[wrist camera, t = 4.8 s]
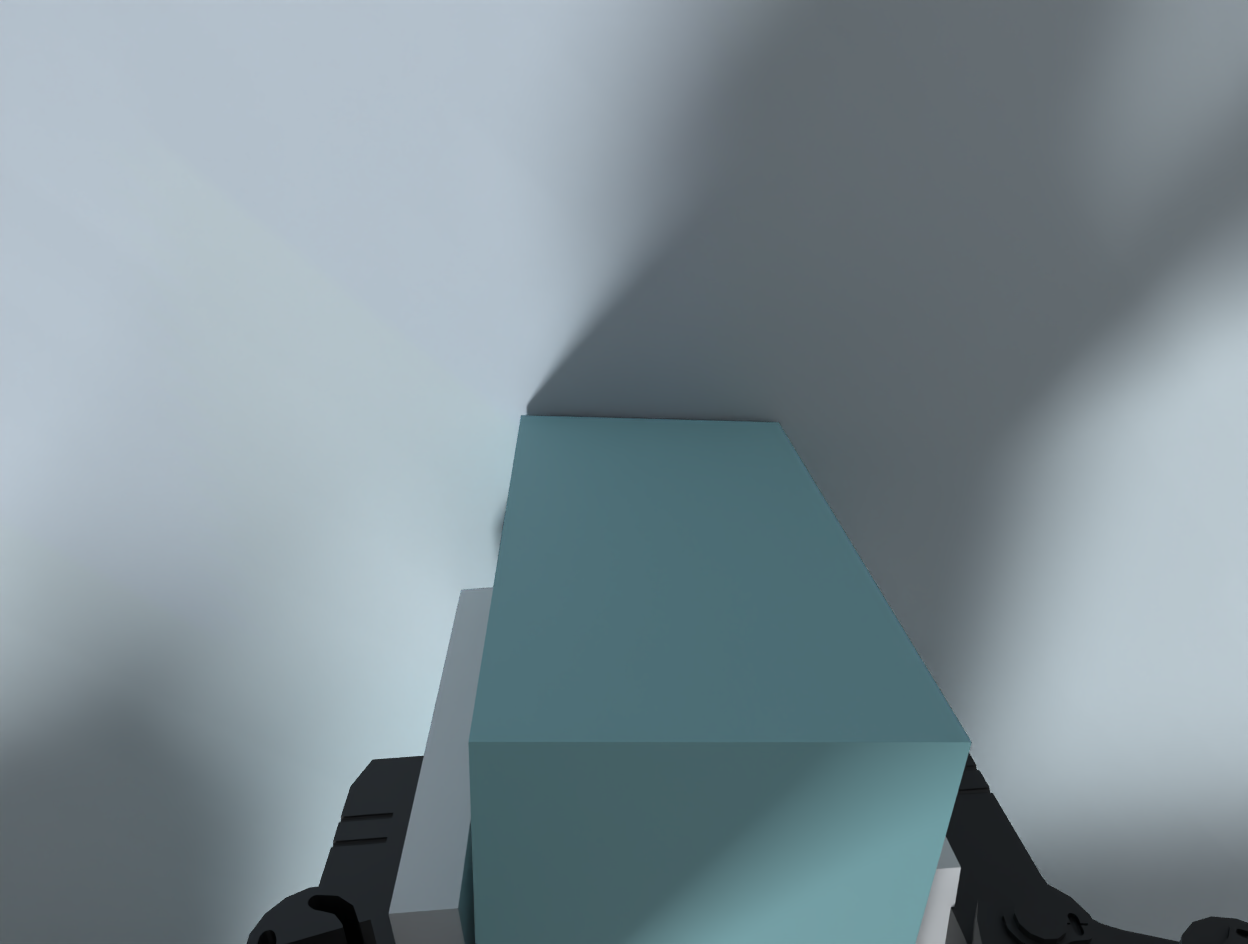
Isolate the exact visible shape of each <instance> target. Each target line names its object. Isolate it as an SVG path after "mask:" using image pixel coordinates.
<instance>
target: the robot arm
mask: <svg viewBox="0 0 1248 944" xmlns="http://www.w3.org/2000/svg"><path fill="white" fill-rule="evenodd" d="M492 593H493V587H492V588H478V589H464V590H461V593H460V597H459V602H458V606H457V610H456V615H455V619H454V624H453V628H452V633H451V637H450V642H449V646H448V651H447V655H446V660H445V664H444V668H443V673H442V677H441V682H440V686H439V691H438V695H437V700H436V704H435V709H434V713H433V717H432V722H431V726H430V731H429V735H428V740H427V744H426V749H425V753H424V756H414V757H401V758H388V759H375V760H372V761H371V762H370V764H369V765H368V766H367V767H366V768H365V770H364V771H363V772H362V773H361V774H360V776H359V777H358V778H357V779H356V781H355V782H354V783H353V784H352V785H351V787H350V790H349V793H348V796H347V799H346V802H345V805H344V809H343V812H342V815H341V822H339V824H338V827H337V830H336V834H335V837H334V840H333V847H331V849H330V852H329V856H328V859H327V862H326V865H325V868H324V871H323V874H322V878H321V881H320V884H319V887H311V888H308V889H305V890H303V891H301V892H298V893H296V894H294V895H291V896H289V897H286V898H285V899H284V900H282V901H281V902H280V903H279V904H277V905H276V906H275V907H273V908H272V909H271V910H269V911H268V912H267V913H266V914H265V915H264V916H263V917H262V919H261V920H260V921H259V923H258V924H257V925H256V927H255V928H254V929H253V931H252V932H251V933H250V935H249V938H248V941H247V944H475V920H474V891H473V862H472V833H471V803H470V774H469V745H468V741H469V735H470V729H471V723H472V717H473V710H474V704H475V698H476V692H477V686H478V679H479V673H480V667H481V661H482V655H483V648H484V642H485V636H486V630H487V624H488V617H489V611H490V605H491V599H492ZM915 944H1248V923H1246V922H1244V921H1241V920H1238V919H1233V918H1221V917H1208V918H1205V919H1202V920H1198V921H1195V922H1192V924H1191V925H1190V926H1189V927H1188V929H1187V930H1186V931H1185V932H1184V933H1183V935H1182V937H1181V940H1180V942H1177V941H1172V940H1168V939H1163V938H1158V937H1153V936H1148V935H1143V934H1139V933H1134V932H1129V931H1124V930H1120V929H1117V928H1114V927H1110V926H1107V925H1104V924H1101V923H1099V922H1097V921H1095V920H1093V919H1092V918H1091V916H1090V915H1089V914H1088V913H1087V912H1086V911H1085V910H1084V909H1083V908H1082V907H1081V906H1080V905H1079V904H1078V903H1077V902H1076V901H1074V900H1073V899H1072V898H1071V897H1070V896H1068V895H1066V894H1064V893H1062V892H1061V891H1059V890H1057V889H1055V888H1053V887H1052V886H1050V885H1048V884H1047V883H1046V881H1045V880H1044V879H1043V877H1042V876H1041V874H1040V873H1039V871H1038V869H1037V867H1036V866H1035V864H1034V862H1033V861H1032V859H1031V857H1030V856H1029V854H1028V852H1027V850H1026V849H1025V847H1024V845H1023V844H1022V842H1021V840H1020V839H1019V837H1018V835H1017V834H1016V832H1015V830H1014V828H1013V827H1012V825H1011V823H1010V822H1009V820H1008V818H1007V817H1006V815H1005V813H1004V811H1003V810H1002V808H1001V806H1000V805H999V803H998V801H997V800H996V798H995V796H994V794H993V793H990V790H989V786H988V784H987V783H986V781H985V779H984V777H983V776H982V774H981V772H980V771H979V770H977V769H976V764H975V762H974V760H973V759H972V757H971V755H970V754H969V753H968V757H967V761H966V764H965V768H964V771H963V775H962V779H961V782H960V786H959V789H958V793H957V796H956V800H955V804H954V807H953V811H952V814H951V818H950V822H949V825H948V829H947V832H946V836H945V839H944V843H943V847H942V850H941V854H940V857H939V861H938V865H937V868H936V872H935V875H934V879H933V882H932V886H931V890H930V893H929V897H928V900H927V904H926V908H925V911H924V915H923V918H922V922H921V925H920V929H919V933H918V936H917V940H916V943H915Z"/></svg>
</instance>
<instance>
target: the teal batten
mask: <svg viewBox="0 0 1248 944" xmlns="http://www.w3.org/2000/svg"><path fill="white" fill-rule="evenodd" d="M971 743H972V742H971V741H970V739H969V737H968V736H967V734H966V732H965V731H964V729H963V727H962V726H961V724H960V722H959V721H958V719H957V717H956V716H955V714H954V712H953V711H952V709H951V707H950V706H949V704H948V702H947V701H946V699H945V697H944V696H943V694H942V692H941V691H940V689H939V687H938V686H937V684H936V683H935V681H934V679H933V678H932V676H931V674H930V673H929V671H928V669H927V668H926V666H925V664H924V663H923V661H922V659H921V658H920V656H919V654H918V653H917V651H916V649H915V648H914V646H913V644H912V643H911V641H910V639H909V638H908V636H907V634H906V633H905V631H904V629H903V628H902V626H901V624H900V623H899V621H898V620H897V618H896V616H895V615H894V613H893V611H892V610H891V608H890V606H889V605H888V603H887V601H886V600H885V598H884V596H883V595H882V593H881V591H880V590H879V588H878V586H877V585H876V583H875V581H874V580H873V578H872V576H871V575H870V573H869V571H868V570H867V568H866V566H865V565H864V563H863V562H862V560H861V558H860V557H859V555H858V553H857V552H856V550H855V548H854V547H853V545H852V543H851V542H850V540H849V538H848V537H847V535H846V533H845V532H844V530H843V528H842V527H841V525H840V523H839V522H838V520H837V518H836V517H835V515H834V513H833V512H832V510H831V508H830V507H829V505H828V503H827V502H826V500H825V499H824V497H823V495H822V494H821V492H820V490H819V489H818V487H817V485H816V484H815V482H814V480H813V479H812V477H811V475H810V474H809V472H808V470H807V469H806V467H805V465H804V464H803V462H802V460H801V459H800V457H799V455H798V454H797V452H796V450H795V449H794V447H793V445H792V444H791V442H790V440H789V439H788V437H787V436H786V434H785V432H784V431H783V429H782V427H781V426H780V424H779V422H749V421H712V420H675V419H638V418H601V417H564V416H527V415H521V419H520V425H519V432H518V438H517V444H516V450H515V456H514V463H513V469H512V475H511V481H510V487H509V493H508V500H507V506H506V512H505V518H504V524H503V531H502V537H501V543H500V549H499V555H498V562H497V568H496V574H495V580H494V586H493V593H492V599H491V605H490V611H489V617H488V624H487V630H486V636H485V642H484V648H483V655H482V661H481V667H480V673H479V679H478V686H477V692H476V698H475V704H474V710H473V717H472V723H471V729H470V735H469V741H468V745H469V774H470V803H471V833H472V862H473V891H474V920H475V944H915V943H916V940H917V936H918V933H919V929H920V925H921V922H922V918H923V915H924V911H925V908H926V904H927V900H928V897H929V893H930V890H931V886H932V882H933V879H934V875H935V872H936V868H937V865H938V861H939V857H940V854H941V850H942V847H943V843H944V839H945V836H946V832H947V829H948V825H949V822H950V818H951V814H952V811H953V807H954V804H955V800H956V796H957V793H958V789H959V786H960V782H961V779H962V775H963V771H964V768H965V764H966V761H967V757H968V753H969V750H970V746H971Z"/></svg>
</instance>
